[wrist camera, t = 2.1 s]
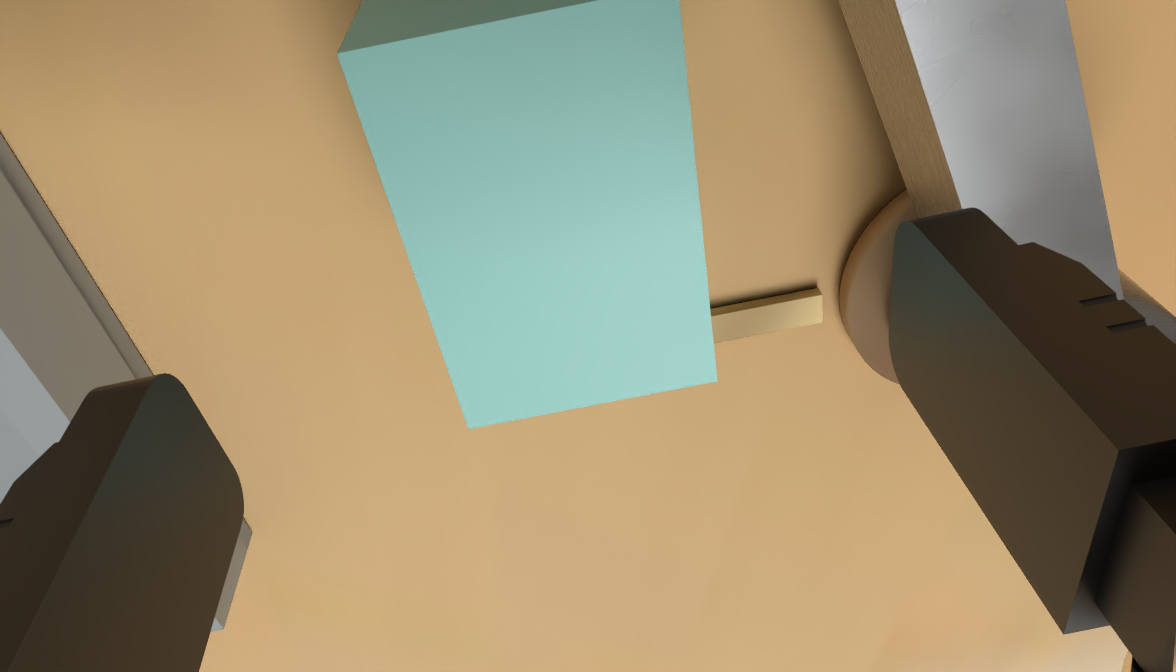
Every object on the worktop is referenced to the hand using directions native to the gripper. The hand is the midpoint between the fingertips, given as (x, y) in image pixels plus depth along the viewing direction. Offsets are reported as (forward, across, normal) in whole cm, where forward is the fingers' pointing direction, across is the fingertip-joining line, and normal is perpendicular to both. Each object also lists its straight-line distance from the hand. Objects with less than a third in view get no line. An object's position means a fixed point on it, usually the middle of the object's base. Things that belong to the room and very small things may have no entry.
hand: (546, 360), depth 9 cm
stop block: (+8, 0, 0) cm, 9 cm away
